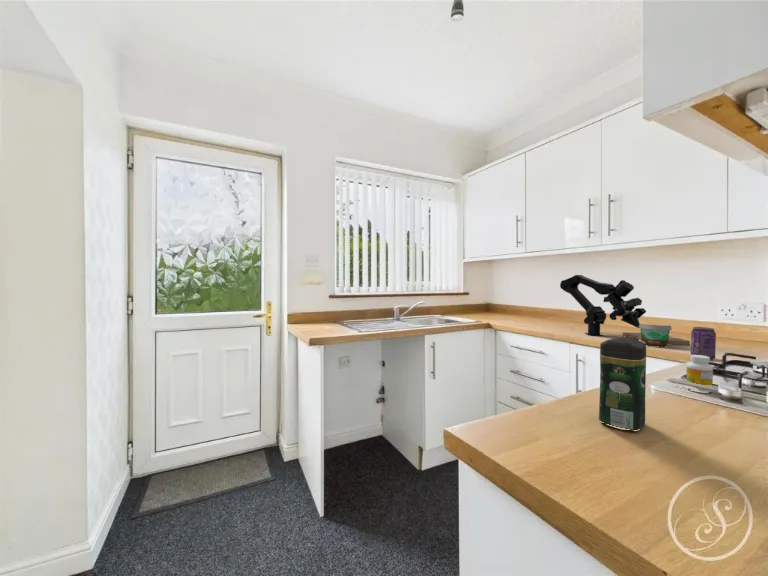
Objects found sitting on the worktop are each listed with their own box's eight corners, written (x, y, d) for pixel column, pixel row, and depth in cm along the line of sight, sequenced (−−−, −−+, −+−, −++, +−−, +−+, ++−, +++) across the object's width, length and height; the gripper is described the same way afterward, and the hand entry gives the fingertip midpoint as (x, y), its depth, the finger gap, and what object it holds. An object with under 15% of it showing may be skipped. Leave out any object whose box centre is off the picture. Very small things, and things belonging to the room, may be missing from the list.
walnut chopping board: (622, 336, 187) (622, 332, 186) (653, 336, 185) (653, 332, 185) (654, 344, 163) (654, 340, 163) (689, 345, 162) (689, 340, 161)
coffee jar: (605, 412, 80) (607, 333, 79) (648, 422, 74) (650, 337, 74) (593, 424, 73) (595, 338, 73) (639, 437, 67) (641, 343, 67)
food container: (640, 346, 159) (641, 324, 159) (638, 343, 164) (638, 323, 164) (674, 348, 153) (675, 326, 153) (670, 346, 159) (671, 324, 158)
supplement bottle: (681, 387, 99) (682, 353, 98) (702, 388, 98) (703, 354, 97) (694, 393, 93) (695, 358, 93) (717, 394, 92) (718, 358, 92)
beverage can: (697, 355, 139) (698, 326, 139) (719, 359, 133) (720, 328, 132) (686, 357, 137) (687, 327, 136) (708, 361, 130) (709, 329, 130)
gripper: (615, 292, 167) (637, 317, 157) (642, 292, 173) (666, 316, 163) (600, 307, 175) (621, 332, 165) (627, 306, 181) (648, 330, 171)
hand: (639, 327), depth 166 cm, fingers closed
